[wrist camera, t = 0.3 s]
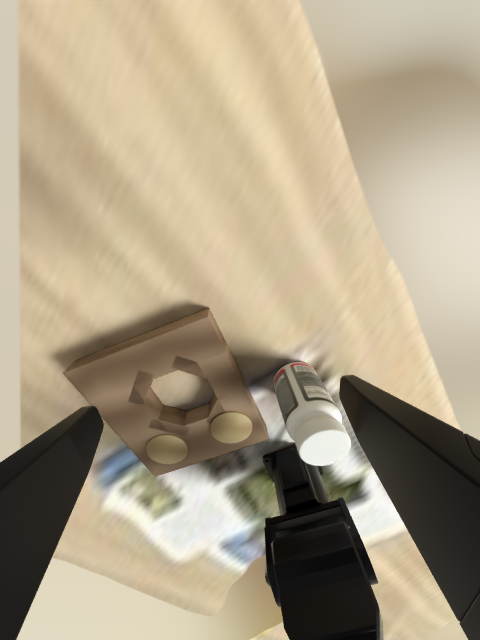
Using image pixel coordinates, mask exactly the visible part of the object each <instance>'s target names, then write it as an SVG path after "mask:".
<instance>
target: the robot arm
mask: <svg viewBox="0 0 480 640" xmlns="http://www.w3.org/2000/svg"><path fill="white" fill-rule="evenodd" d="M339 395H340V400H341V402H342V405H343V407H344V409H345V412H346V414H347V416H348V419H349V421H350V423H351V426H352V428H353V430H354V433H355V435H356V437H357V439H358V441H359V443H360V445H361V447H362V449H363V451H364V452H365V454H366V456H367V458H368V460H369V461H370V463H371V465H372V467H373V469H374V470H375V472H376V474H377V476H378V478H379V479H380V481H381V483H382V485H383V487H384V488H385V490H386V492H387V494H388V496H389V497H390V499H391V501H392V503H393V505H394V506H395V508H396V510H397V512H398V514H399V515H400V517H401V519H402V521H403V522H404V524H405V526H406V528H407V530H408V531H409V533H410V535H411V537H412V539H413V540H414V542H415V544H416V546H417V548H418V549H419V551H420V553H421V555H422V557H423V558H424V560H425V562H426V564H427V566H428V567H429V569H430V571H431V573H432V575H433V576H434V578H435V580H436V582H437V584H438V585H439V587H440V589H441V591H442V593H443V594H444V596H445V598H446V600H447V602H448V603H449V605H450V607H451V609H452V611H453V612H454V614H455V616H456V618H457V619H458V621H460V625H461V627H462V629H463V631H464V632H465V634H466V636H467V638H468V640H480V441H479V440H478V439H476V438H474V437H472V436H470V435H468V434H464V433H463V432H462V431H460V430H458V429H456V428H454V427H452V426H451V425H449V424H447V423H445V422H443V421H441V420H439V419H437V418H435V417H433V416H431V415H429V414H427V413H426V412H424V411H422V410H420V409H418V408H416V407H414V406H412V405H410V404H408V403H406V402H404V401H402V400H401V399H399V398H397V397H395V396H393V395H391V394H389V393H387V392H385V391H383V390H381V389H379V388H377V387H376V386H374V385H372V384H370V383H368V382H366V381H364V380H362V379H360V378H358V377H356V376H354V375H346V376H342V377H341V380H340V392H339ZM103 427H104V424H103V420H102V418H101V416H100V414H99V411H98V409H97V407H96V406H86V407H82V408H80V409H79V410H77V411H76V412H74V413H73V414H71V415H70V416H68V417H67V418H65V419H64V420H62V421H61V422H59V423H58V424H57V425H55V426H54V427H52V428H51V429H49V430H48V431H46V432H45V433H43V434H42V435H40V436H39V437H37V438H36V439H34V440H33V441H31V442H30V443H28V444H27V445H25V446H24V447H23V448H21V449H20V450H18V451H17V452H15V453H14V454H12V455H11V456H9V457H8V458H6V459H5V460H3V461H2V462H0V640H16V639H17V636H18V634H19V632H20V630H21V627H22V625H23V623H24V620H25V618H26V616H27V614H28V611H29V609H30V607H31V604H32V602H33V600H34V597H35V595H36V593H37V591H38V588H39V586H40V584H41V581H42V579H43V577H44V574H45V572H46V570H47V568H48V565H49V563H50V560H51V558H52V556H53V554H54V551H55V549H56V547H57V545H58V542H59V540H60V538H61V535H62V533H63V531H64V528H65V526H66V524H67V522H68V519H69V517H70V515H71V512H72V510H73V508H74V505H75V503H76V501H77V499H78V496H79V494H80V492H81V489H82V487H83V485H84V482H85V480H86V478H87V475H88V473H89V470H90V467H91V465H92V462H93V458H94V455H95V452H96V449H97V446H98V443H99V440H100V437H101V434H102V431H103ZM263 463H264V464H265V466H266V468H267V470H268V472H269V474H270V475H271V477H272V479H273V481H274V484H275V489H276V495H277V500H278V505H279V511H280V516H276V517H273V518H270V517H269V518H265V524H266V527H265V529H264V530H265V545H266V569H265V578H266V582H267V584H268V585H269V586H270V587H271V589H272V592H273V595H274V598H275V601H276V604H277V605H278V606H279V607H281V611H282V616H283V623H284V629H285V631H286V633H287V635H288V637H289V639H290V640H383V623H382V618H381V614H380V610H379V606H378V603H377V600H376V598H375V595H374V593H373V590H372V587H371V584H372V585H374V584H378V581H377V578H376V575H375V572H374V569H373V567H372V564H371V562H370V559H369V557H368V554H367V552H366V549H365V547H364V544H363V542H362V540H361V537H360V535H359V533H358V531H357V528H356V526H355V524H354V522H353V519H352V517H351V515H350V513H349V510H348V508H347V506H346V504H345V501H344V499H343V497H342V498H338V500H335V501H331V502H330V499H329V497H328V494H327V491H326V489H325V486H324V483H323V480H322V478H321V475H322V474H323V471H322V468H321V466H315V465H311V464H308V463H306V462H304V461H303V460H302V459H301V457H300V455H299V453H298V450H297V447H296V446H293V447H290V448H287V449H284V450H280V451H277V452H274V453H271V454H268V455H265V456H263Z"/></svg>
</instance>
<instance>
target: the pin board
mask: <svg viewBox="0 0 480 640" xmlns="http://www.w3.org/2000/svg"><path fill="white" fill-rule="evenodd" d="M176 370H181V371H184V372H187V373H190V374H194V375H197V376H200V377H204V378H206V379H207V380H208V382H209V384H210V386H211V387H212V389H213V391H214V395H213V397H212V399H211V401H210V403H209V404H206V405H203V406H201V407H198V408H195V409H192V410H189V411H184V410H180V409H177V408H173V407H169V406H165V405H163V404H162V403H161V401H160V400H159V398H158V397H157V396H156V394H155V393H154V391H153V390H152V389H151V387H150V386H151V384H152V381H153V379H155V378H158V377H160V376H163V375H166V374H168V373H171V372H174V371H176ZM63 374H64V375H65V376H66V377H67V378H68V380H69V381H70V382H71V383H72V384H73V385H74V386H75V387H76V389H77V390H78V391H79V392H80V393H81V394H82V395H83V396H84V398H85V399H86V400H87V401H88V402H89V403H90V404H91V405H92V406H96V407H97V409H98V411H99V414H100V416H101V417H102V418H103V419H104V420H105V421H106V422H107V423H108V425H109V426H110V427H111V428H112V429H113V430H114V431H115V432H116V433H117V435H118V436H119V437H120V438H121V439H122V440H123V441H124V442H125V444H126V445H127V446H128V447H129V448H130V449H131V450H132V451H133V453H134V454H135V455H136V456H137V457H138V458H139V459H140V460H141V462H142V463H143V464H144V465H145V466H146V467H147V468H148V469H149V471H150V472H151V473H152V474H153V475H154V476H155V477H156V476H159V475H162V474H165V473H168V472H171V471H174V470H177V469H180V468H183V467H186V466H189V465H193V464H196V463H199V462H202V461H205V460H208V459H211V458H214V457H217V456H220V455H223V454H226V453H229V452H232V451H235V450H238V449H241V448H244V447H248V446H251V445H254V444H257V443H260V442H263V441H266V440H269V438H268V433H267V428H266V424H265V422H264V420H263V418H262V416H261V414H260V412H259V410H258V407H257V405H256V403H255V401H254V399H253V397H252V395H251V393H250V391H249V389H248V387H247V385H246V383H245V381H244V379H243V377H242V374H241V372H240V370H239V368H238V366H237V364H236V362H235V360H234V358H233V356H232V354H231V352H230V350H229V348H228V346H227V344H226V342H225V339H224V337H223V335H222V333H221V331H220V329H219V327H218V325H217V323H216V321H215V319H214V317H213V315H212V313H211V311H210V309H209V308H208V309H205V310H203V311H200V312H197V313H195V314H192V315H190V316H187V317H185V318H182V319H180V320H177V321H175V322H172V323H170V324H167V325H165V326H162V327H159V328H157V329H154V330H152V331H149V332H147V333H144V334H142V335H139V336H137V337H134V338H132V339H129V340H127V341H124V342H121V343H119V344H116V345H114V346H111V347H109V348H106V349H104V350H101V351H99V352H96V353H94V354H91V355H89V356H86V357H83V358H81V359H78V360H76V361H75V362H74V363H73V364H72V365H71V366H70V367H69V368H68V369H67V370H66V371H65V372H64V373H63Z"/></svg>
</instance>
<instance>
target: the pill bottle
mask: <svg viewBox="0 0 480 640" xmlns="http://www.w3.org/2000/svg"><path fill="white" fill-rule="evenodd" d="M274 389H275V392H276V396H277V399H278V402H279V406H280V409H281V412H282V416H283V419H284V422H285V426H286V429H287V432H288V434H289V436H290V437H291V438H292V439H293V440H294V441H295V444H296V447H297V450H298V453H299V455H300V457H301V459H302V460H303V461H304V462H306V463H308V464H311V465H315V466H324V465H329V464H333V463H335V462H337V461H339V460H341V459H342V458H343V457H344V456H345V455H346V454H347V453H348V451H349V450H350V447H351V441H350V438H349V436H348V434H347V432H346V430H345V427H344V426H343V424H342V417H341V414H340V412H339V410H338V408H337V406H336V405H335V403H334V401H333V400H332V398H331V396H330V395H329V393H328V391H327V390H326V388H325V386H324V384H323V383H322V381H321V379H320V378H319V376H318V374H317V372H316V371H315V370H314V368H313V367H312V366H310V365H308V364H306V363H303V362H294V363H290V364H287V365H285V366H283V367H282V368H281V369H279V370H278V372H277V373H276V375H275V377H274Z"/></svg>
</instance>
